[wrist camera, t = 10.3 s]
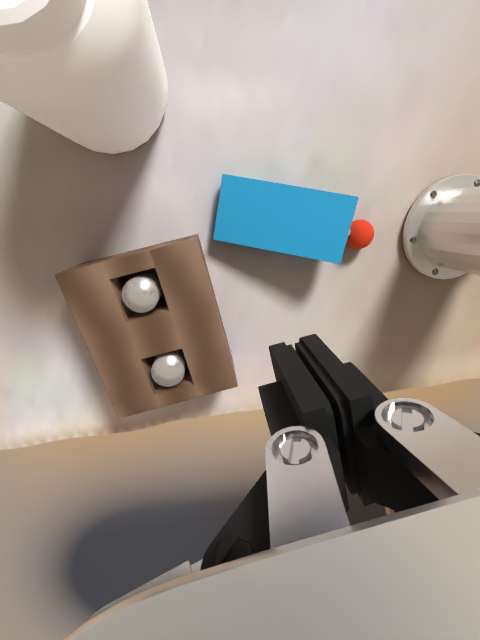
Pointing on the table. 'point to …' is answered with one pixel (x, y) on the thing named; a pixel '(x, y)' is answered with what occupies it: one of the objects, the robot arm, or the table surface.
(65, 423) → the table surface
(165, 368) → the peg
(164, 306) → the walnut block
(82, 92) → the white jar
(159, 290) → the peg
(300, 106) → the table surface
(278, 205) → the blue block
